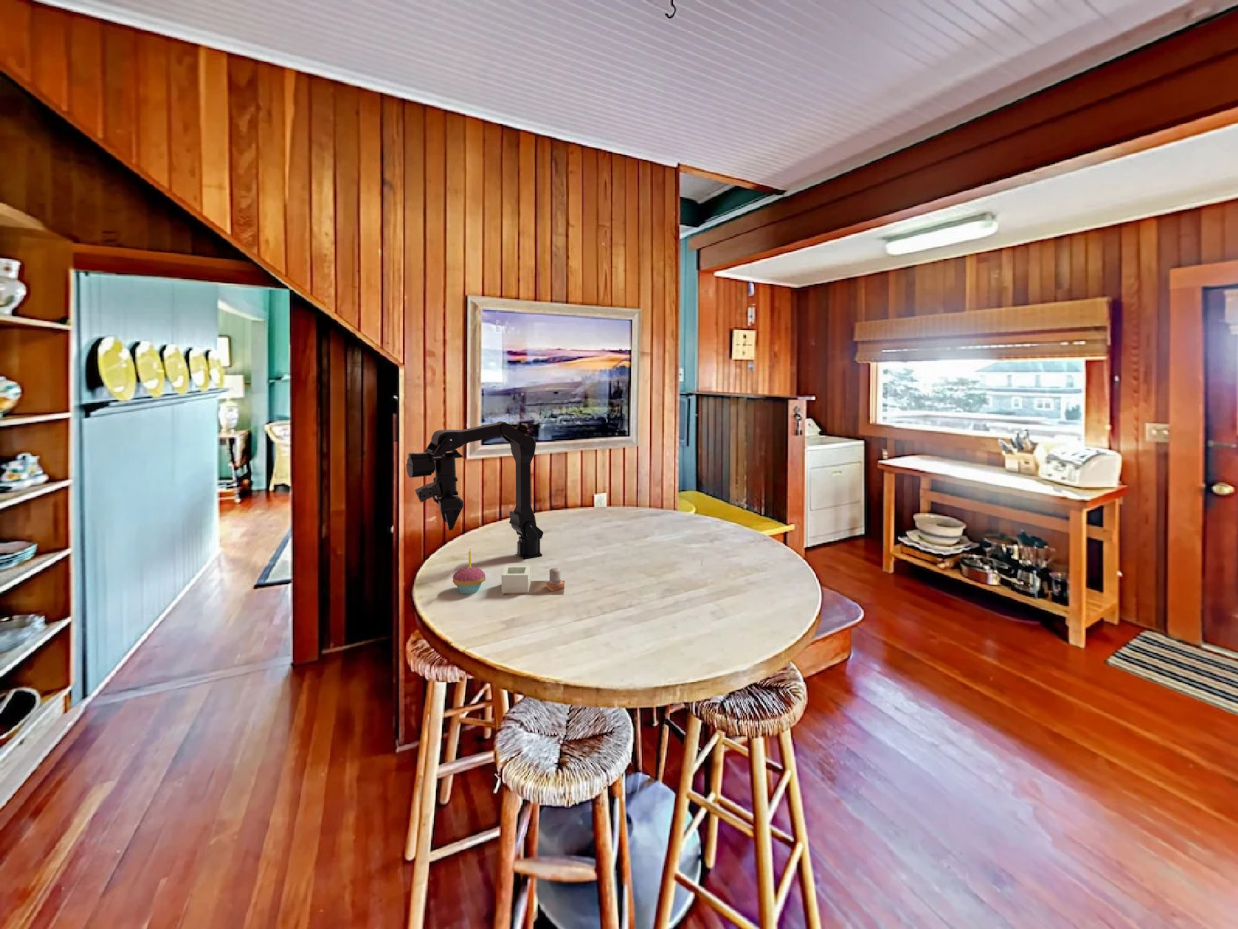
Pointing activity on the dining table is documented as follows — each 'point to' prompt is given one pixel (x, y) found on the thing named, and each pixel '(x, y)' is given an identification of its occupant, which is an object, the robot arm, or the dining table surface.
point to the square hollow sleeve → (516, 579)
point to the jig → (546, 585)
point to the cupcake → (469, 578)
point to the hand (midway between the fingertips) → (448, 525)
